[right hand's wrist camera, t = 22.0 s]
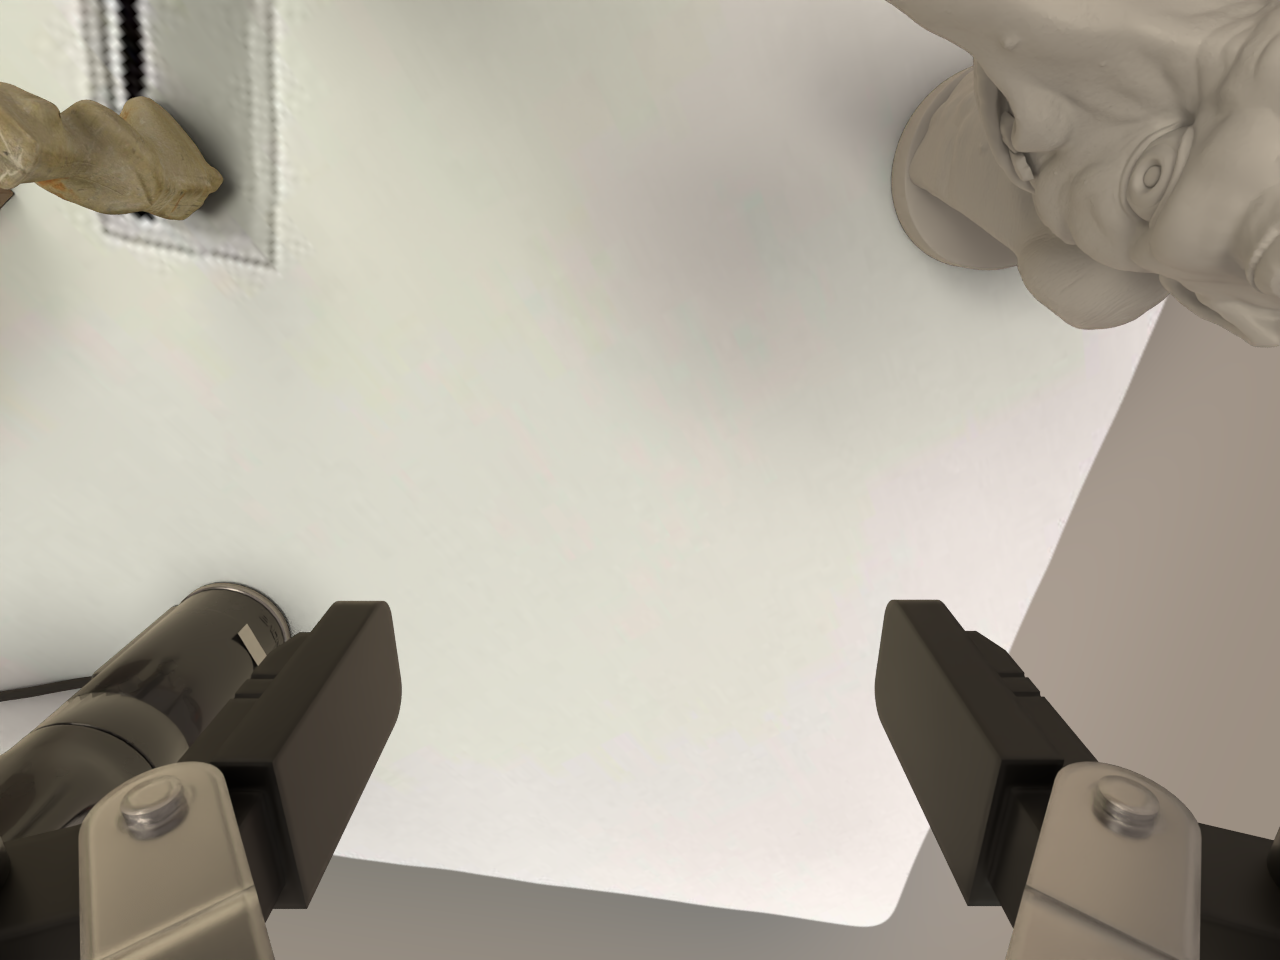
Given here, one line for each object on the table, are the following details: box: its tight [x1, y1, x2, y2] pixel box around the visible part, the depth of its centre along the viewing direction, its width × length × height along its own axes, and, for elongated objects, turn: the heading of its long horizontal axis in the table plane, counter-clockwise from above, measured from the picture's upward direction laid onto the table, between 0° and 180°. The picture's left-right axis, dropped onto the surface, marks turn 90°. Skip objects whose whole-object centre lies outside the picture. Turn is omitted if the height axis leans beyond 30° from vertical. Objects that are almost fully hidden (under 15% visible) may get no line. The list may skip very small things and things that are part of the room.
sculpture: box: [0, 82, 223, 220], centre depth 40 cm, size 6×7×15 cm
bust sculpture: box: [886, 0, 1280, 347], centre depth 30 cm, size 16×24×35 cm
